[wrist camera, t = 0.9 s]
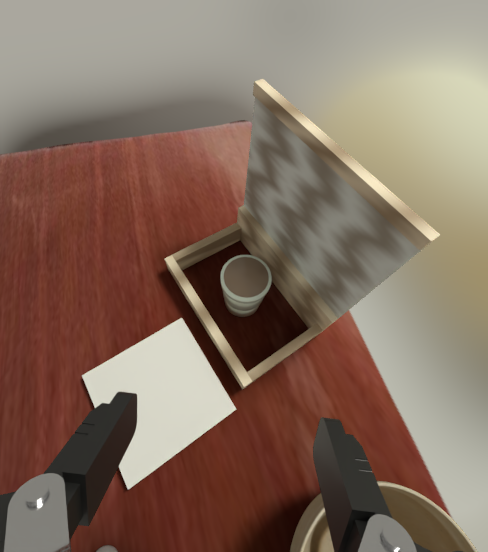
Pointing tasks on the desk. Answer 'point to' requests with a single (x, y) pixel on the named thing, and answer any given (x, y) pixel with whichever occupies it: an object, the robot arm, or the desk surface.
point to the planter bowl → (404, 509)
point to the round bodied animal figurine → (107, 549)
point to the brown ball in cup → (244, 284)
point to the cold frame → (307, 226)
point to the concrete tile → (162, 396)
